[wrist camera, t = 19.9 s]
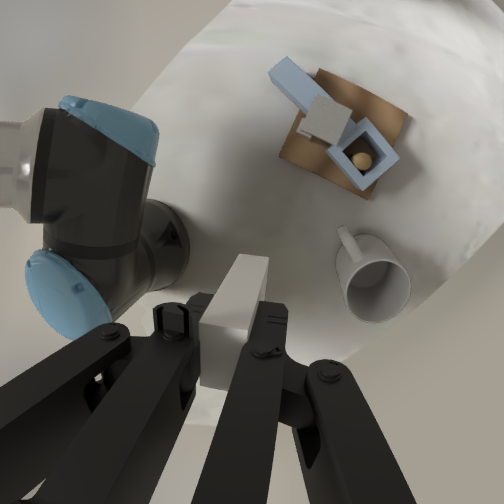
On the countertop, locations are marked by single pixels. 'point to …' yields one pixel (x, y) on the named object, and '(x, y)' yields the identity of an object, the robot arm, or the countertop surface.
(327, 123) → the block
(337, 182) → the board
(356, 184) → the link
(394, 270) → the mug
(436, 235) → the countertop surface
